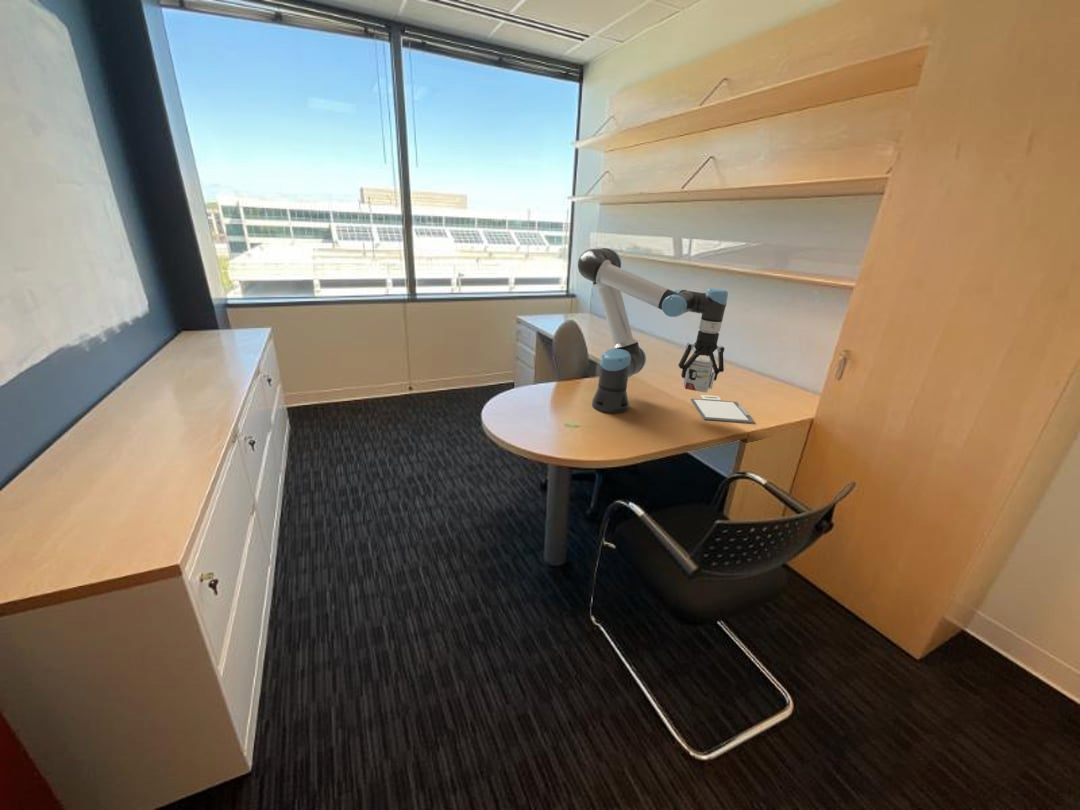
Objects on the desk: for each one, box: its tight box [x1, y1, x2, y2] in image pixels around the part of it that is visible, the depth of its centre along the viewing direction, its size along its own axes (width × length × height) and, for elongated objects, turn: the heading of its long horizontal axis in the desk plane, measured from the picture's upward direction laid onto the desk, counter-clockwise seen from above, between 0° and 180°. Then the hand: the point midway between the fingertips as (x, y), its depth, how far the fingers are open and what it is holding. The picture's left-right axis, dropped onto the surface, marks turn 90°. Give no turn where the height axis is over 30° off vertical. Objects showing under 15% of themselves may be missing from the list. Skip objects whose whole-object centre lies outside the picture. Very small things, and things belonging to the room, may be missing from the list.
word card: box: [700, 394, 723, 401], centre depth 200 cm, size 8×5×1 cm, turn 86°
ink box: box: [684, 357, 713, 393], centre depth 173 cm, size 9×5×12 cm, turn 63°
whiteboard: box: [690, 398, 756, 424], centre depth 186 cm, size 20×22×1 cm
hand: (696, 386), depth 175 cm, fingers closed on ink box, 10 cm apart
